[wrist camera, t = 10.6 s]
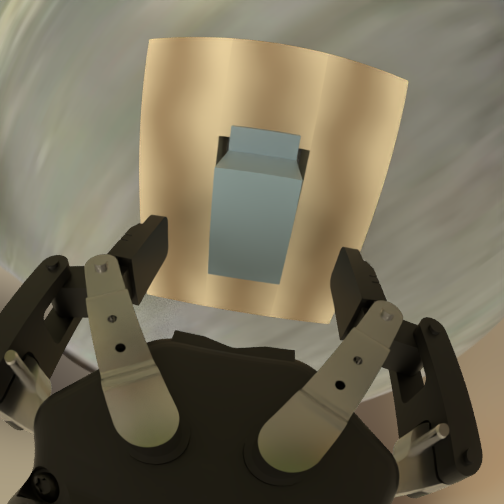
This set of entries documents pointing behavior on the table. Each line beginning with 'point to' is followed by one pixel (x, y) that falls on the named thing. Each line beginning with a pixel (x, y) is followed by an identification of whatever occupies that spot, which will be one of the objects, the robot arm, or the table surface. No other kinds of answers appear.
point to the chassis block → (270, 118)
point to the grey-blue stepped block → (254, 205)
